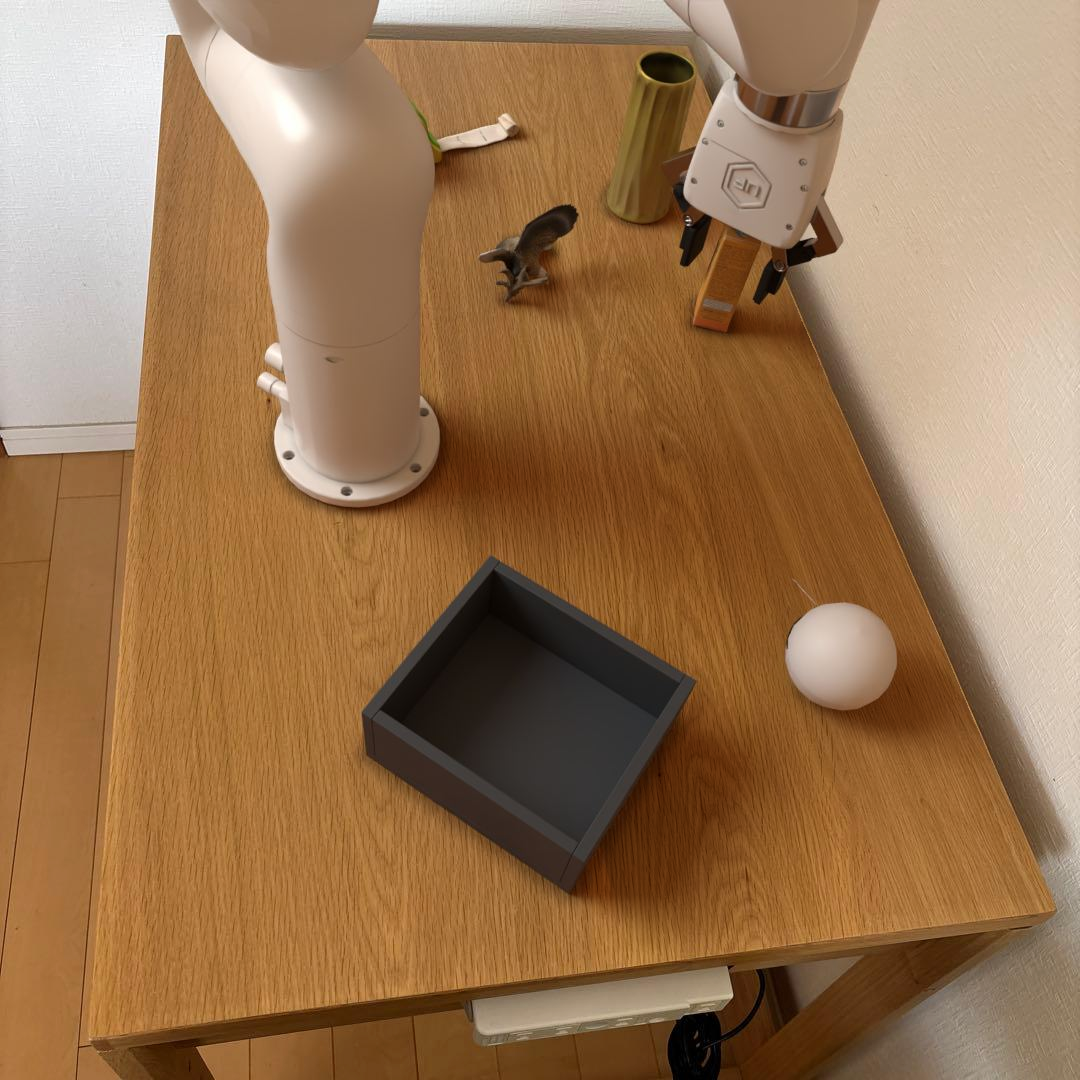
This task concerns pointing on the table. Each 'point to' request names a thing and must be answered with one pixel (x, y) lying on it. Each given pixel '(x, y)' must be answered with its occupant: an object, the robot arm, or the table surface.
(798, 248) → the robot arm
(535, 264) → the eagle figurine
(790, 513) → the table surface
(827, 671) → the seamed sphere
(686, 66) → the vase
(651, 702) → the bin
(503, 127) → the toy measuring tape
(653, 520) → the table surface
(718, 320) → the supplement box
